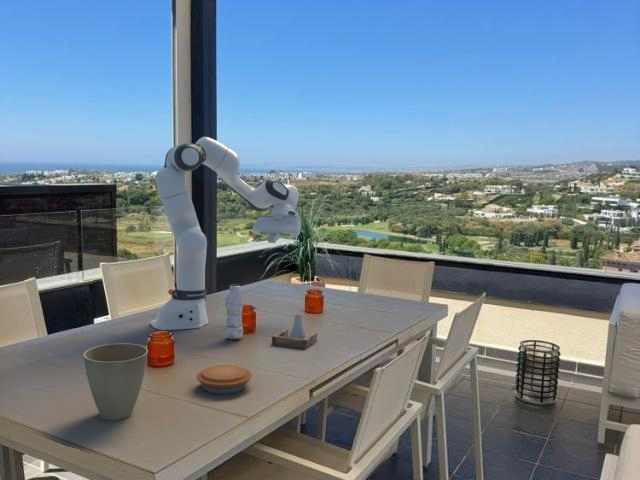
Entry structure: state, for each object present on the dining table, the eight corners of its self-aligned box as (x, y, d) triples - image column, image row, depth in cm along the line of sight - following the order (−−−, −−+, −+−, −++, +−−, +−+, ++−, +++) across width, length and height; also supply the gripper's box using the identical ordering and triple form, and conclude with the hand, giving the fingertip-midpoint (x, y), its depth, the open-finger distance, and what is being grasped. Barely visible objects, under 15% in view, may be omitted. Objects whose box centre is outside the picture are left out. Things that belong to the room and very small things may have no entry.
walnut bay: (305, 349, 204) (305, 340, 203) (271, 344, 208) (271, 336, 208) (316, 340, 214) (316, 332, 214) (284, 336, 219) (284, 329, 218)
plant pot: (70, 420, 139) (69, 356, 138) (112, 399, 153) (112, 340, 152) (120, 431, 134) (120, 364, 132) (160, 408, 148) (160, 348, 146)
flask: (293, 344, 208) (293, 317, 207) (284, 339, 215) (285, 313, 214) (310, 342, 212) (311, 316, 211) (301, 337, 218) (302, 311, 217)
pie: (242, 400, 156) (242, 382, 155) (187, 394, 158) (187, 377, 158) (258, 380, 171) (258, 364, 170) (208, 376, 174) (208, 359, 173)
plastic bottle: (246, 339, 214) (247, 285, 212) (232, 342, 209) (233, 287, 207) (235, 335, 218) (236, 283, 216) (221, 338, 213) (221, 285, 211)
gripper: (256, 210, 246) (245, 235, 238) (301, 213, 240) (292, 238, 231) (260, 220, 251) (250, 245, 243) (305, 223, 244) (295, 248, 236)
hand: (271, 242), depth 237 cm, fingers closed
